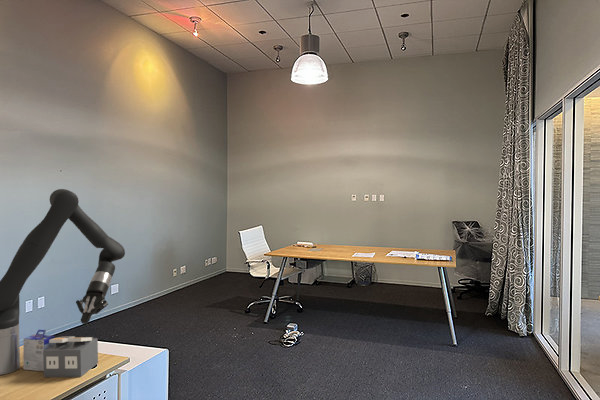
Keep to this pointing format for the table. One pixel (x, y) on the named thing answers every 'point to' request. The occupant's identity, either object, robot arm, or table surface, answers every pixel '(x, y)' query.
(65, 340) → the inner rocker
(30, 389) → the table surface
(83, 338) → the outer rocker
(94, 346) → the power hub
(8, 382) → the table surface
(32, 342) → the ink cartridge box
